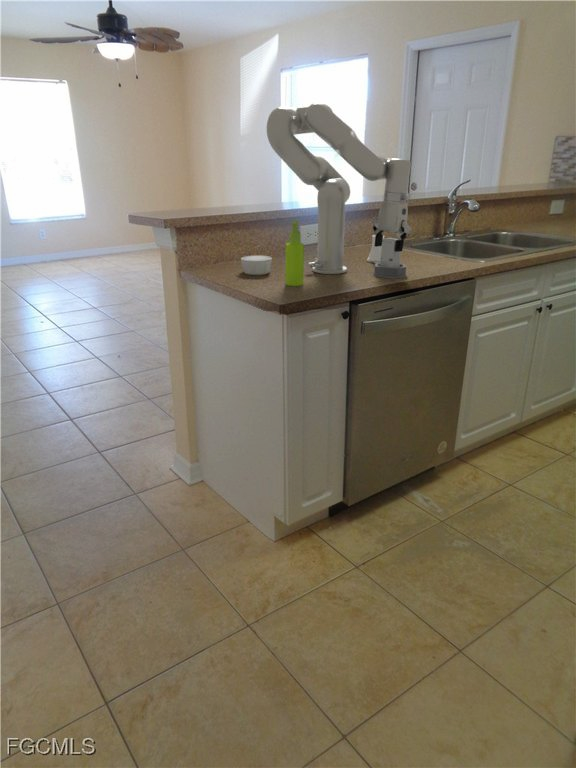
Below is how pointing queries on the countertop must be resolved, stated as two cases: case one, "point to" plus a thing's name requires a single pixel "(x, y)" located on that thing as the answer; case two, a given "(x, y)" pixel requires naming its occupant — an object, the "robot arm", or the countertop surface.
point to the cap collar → (390, 271)
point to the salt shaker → (375, 252)
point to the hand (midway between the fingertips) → (388, 248)
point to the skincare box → (389, 254)
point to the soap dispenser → (294, 258)
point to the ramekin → (256, 264)
